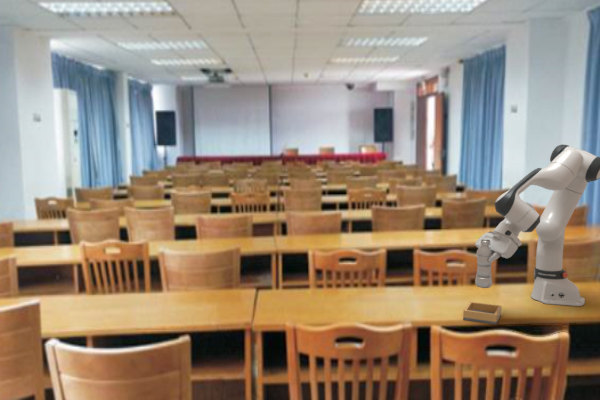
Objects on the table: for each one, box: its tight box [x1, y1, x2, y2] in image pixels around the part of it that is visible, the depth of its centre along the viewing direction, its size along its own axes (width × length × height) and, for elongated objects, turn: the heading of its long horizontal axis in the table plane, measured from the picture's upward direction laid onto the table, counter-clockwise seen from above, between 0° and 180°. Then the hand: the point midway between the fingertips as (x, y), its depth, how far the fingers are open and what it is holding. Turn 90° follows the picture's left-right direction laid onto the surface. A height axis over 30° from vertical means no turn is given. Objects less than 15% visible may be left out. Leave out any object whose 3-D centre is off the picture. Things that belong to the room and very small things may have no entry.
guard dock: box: [462, 301, 502, 325], centre depth 230 cm, size 13×13×4 cm
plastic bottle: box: [474, 239, 494, 289], centre depth 227 cm, size 6×7×20 cm
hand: (483, 259), depth 227 cm, fingers closed on plastic bottle, 6 cm apart
